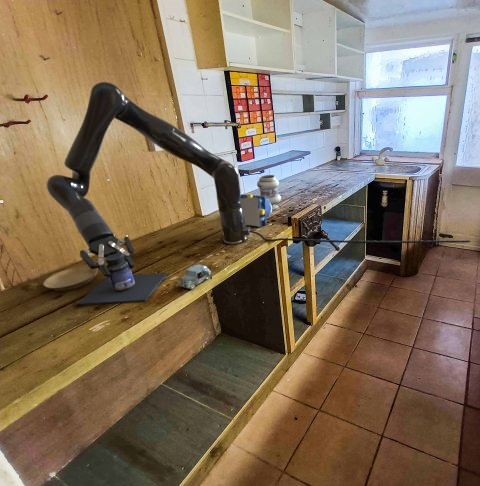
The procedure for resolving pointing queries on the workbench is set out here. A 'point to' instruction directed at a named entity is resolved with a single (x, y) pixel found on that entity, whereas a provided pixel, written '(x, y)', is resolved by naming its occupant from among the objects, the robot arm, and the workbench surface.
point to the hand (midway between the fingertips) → (121, 271)
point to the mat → (135, 294)
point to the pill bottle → (119, 273)
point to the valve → (255, 209)
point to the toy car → (194, 276)
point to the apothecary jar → (269, 189)
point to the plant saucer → (70, 278)
